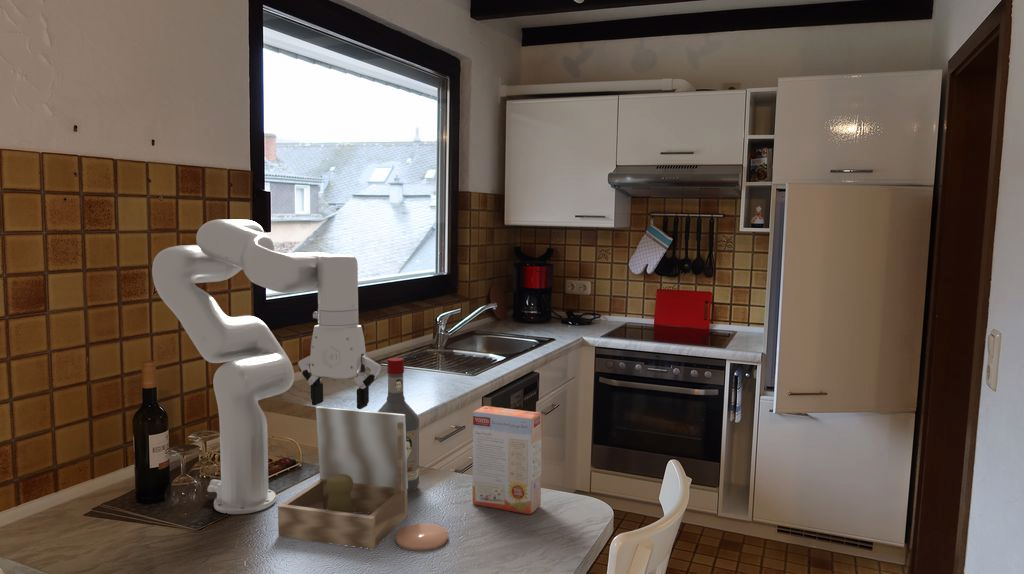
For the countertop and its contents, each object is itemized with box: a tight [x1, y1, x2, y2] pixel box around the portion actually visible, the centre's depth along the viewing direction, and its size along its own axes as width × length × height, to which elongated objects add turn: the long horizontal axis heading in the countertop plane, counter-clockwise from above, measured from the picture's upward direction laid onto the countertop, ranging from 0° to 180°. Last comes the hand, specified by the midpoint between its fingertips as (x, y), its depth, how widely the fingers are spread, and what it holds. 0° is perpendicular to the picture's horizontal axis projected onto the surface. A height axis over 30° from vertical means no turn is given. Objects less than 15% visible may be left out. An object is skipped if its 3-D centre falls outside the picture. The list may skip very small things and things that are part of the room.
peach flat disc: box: [395, 522, 449, 552], centre depth 141 cm, size 10×10×1 cm
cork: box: [326, 474, 354, 514], centre depth 144 cm, size 6×6×11 cm
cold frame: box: [277, 405, 408, 550], centre depth 145 cm, size 20×16×22 cm
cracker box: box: [472, 405, 543, 515], centre depth 157 cm, size 14×6×21 cm, turn 65°
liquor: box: [377, 357, 420, 494], centre depth 166 cm, size 9×9×30 cm
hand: (339, 405), depth 142 cm, fingers open, 9 cm apart
